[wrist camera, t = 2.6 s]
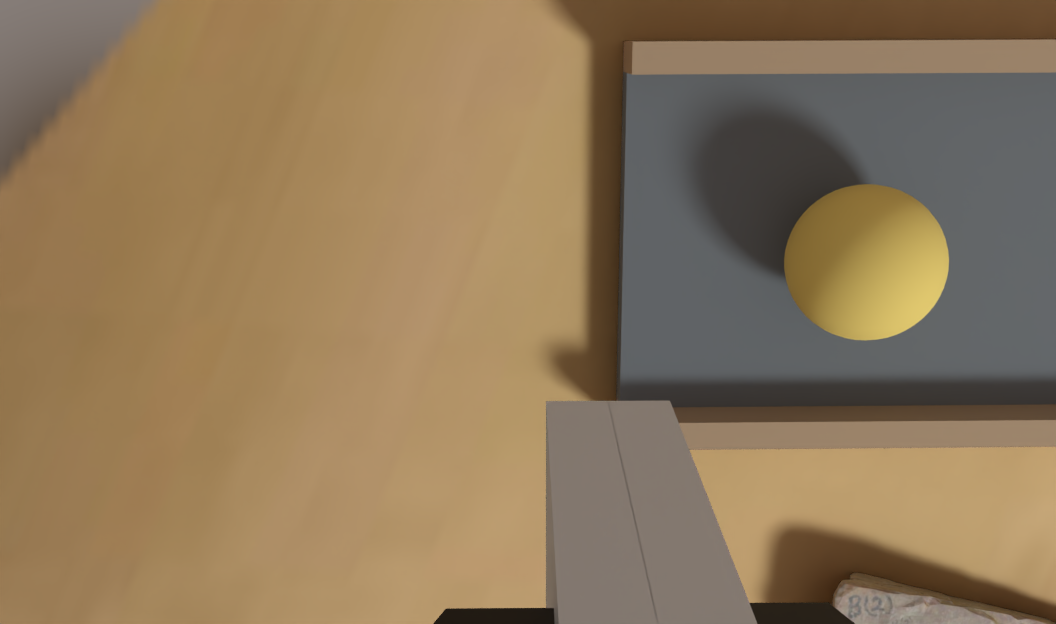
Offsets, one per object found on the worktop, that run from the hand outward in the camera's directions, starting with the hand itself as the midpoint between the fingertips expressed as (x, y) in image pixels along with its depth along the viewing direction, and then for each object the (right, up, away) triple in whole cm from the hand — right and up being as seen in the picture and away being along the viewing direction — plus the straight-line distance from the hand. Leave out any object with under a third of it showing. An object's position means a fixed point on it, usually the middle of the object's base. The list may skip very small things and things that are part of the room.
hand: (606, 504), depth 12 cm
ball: (+8, +4, +13) cm, 16 cm away
